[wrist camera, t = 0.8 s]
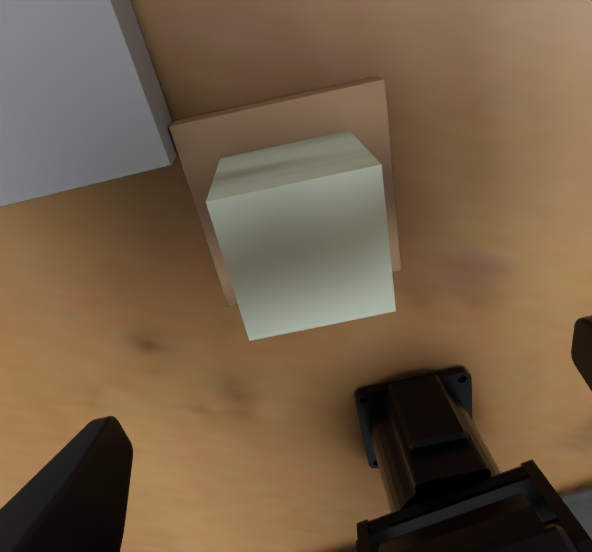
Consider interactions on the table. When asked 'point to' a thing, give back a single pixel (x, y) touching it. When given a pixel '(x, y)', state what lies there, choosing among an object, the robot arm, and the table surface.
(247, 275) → the cube on wooden base
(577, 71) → the table surface
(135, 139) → the dock
